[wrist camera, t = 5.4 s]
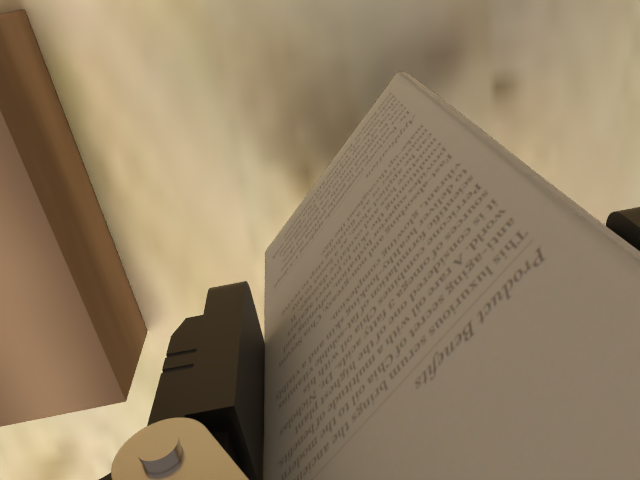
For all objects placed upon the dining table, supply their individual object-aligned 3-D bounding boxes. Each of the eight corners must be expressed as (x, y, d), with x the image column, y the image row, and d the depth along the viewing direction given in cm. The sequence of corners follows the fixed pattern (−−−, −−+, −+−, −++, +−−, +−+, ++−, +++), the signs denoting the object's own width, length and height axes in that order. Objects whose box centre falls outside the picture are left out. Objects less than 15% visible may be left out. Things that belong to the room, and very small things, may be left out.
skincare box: (384, 321, 17) (570, 935, 6) (261, 249, 16) (233, 866, 5) (527, 156, 15) (1142, 633, 4) (401, 59, 14) (839, 398, 3)
